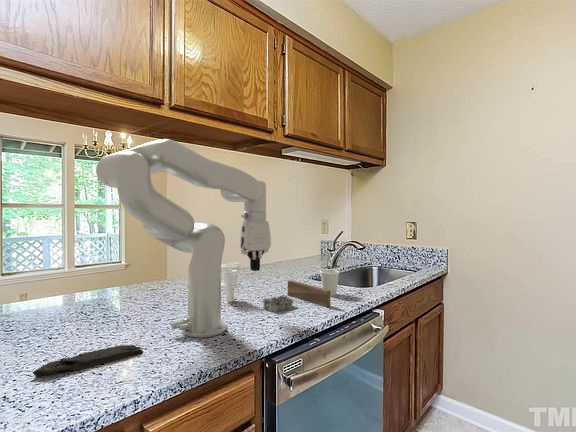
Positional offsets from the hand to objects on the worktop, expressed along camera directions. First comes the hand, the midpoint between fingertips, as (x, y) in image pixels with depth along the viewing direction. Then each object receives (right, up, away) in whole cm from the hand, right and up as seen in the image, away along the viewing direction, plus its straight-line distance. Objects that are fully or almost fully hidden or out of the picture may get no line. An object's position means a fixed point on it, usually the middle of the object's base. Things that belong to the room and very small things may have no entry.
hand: (255, 270), depth 112 cm
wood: (-35, -16, -36) cm, 52 cm away
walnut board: (+19, -15, +17) cm, 30 cm away
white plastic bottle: (-11, -15, +16) cm, 24 cm away
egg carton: (+8, -15, +8) cm, 19 cm away
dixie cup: (+29, -15, +27) cm, 42 cm away
